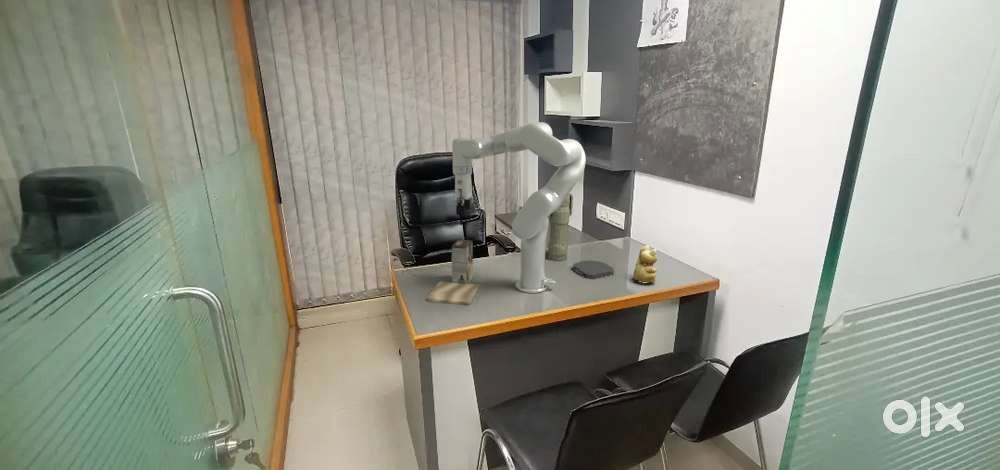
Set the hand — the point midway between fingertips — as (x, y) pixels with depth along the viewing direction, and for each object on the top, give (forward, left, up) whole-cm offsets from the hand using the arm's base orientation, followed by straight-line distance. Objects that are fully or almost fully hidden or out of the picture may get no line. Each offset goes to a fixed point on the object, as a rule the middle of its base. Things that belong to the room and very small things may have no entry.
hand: (463, 212), depth 186 cm
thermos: (-38, -27, -27) cm, 53 cm away
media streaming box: (-54, -13, -27) cm, 62 cm away
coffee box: (-2, +9, -27) cm, 28 cm away
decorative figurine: (-74, -6, -27) cm, 79 cm away
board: (-2, +22, -26) cm, 34 cm away
